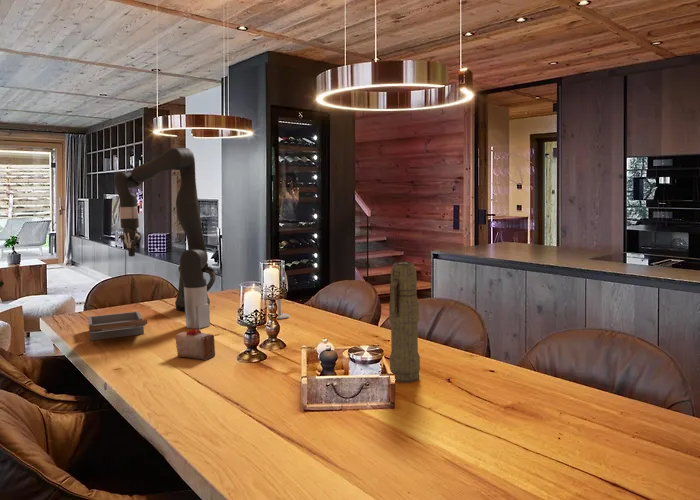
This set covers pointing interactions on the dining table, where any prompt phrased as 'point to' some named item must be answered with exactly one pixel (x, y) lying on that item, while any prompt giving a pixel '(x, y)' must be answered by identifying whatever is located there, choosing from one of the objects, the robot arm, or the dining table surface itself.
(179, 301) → the beer stein
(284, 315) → the wineglass
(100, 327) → the panel
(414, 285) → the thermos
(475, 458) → the dining table surface
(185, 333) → the food item
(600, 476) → the dining table surface
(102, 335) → the tray
